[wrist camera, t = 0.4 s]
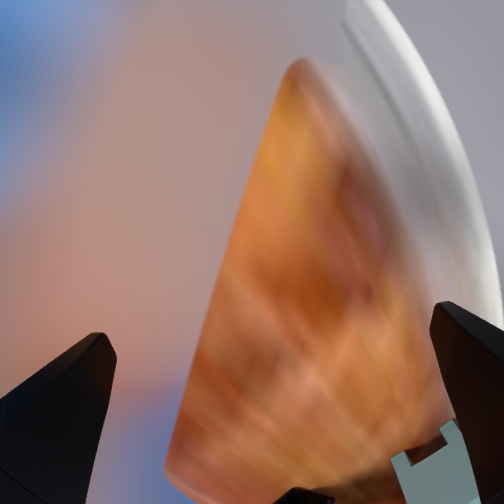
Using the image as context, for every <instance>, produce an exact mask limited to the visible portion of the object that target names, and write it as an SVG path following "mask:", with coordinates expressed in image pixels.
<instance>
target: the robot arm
mask: <svg viewBox="0 0 504 504" xmlns="http://www.w3.org/2000/svg"><path fill="white" fill-rule="evenodd" d="M430 337H431V340H432V343H433V347H434V350H435V354H436V357H437V361H438V364H439V368H440V372H441V375H442V379H443V382H444V385H445V388H446V390H447V393H448V396H449V398H450V401H451V404H452V407H453V409H454V412H455V415H456V418H457V421H458V424H459V427H460V430H461V433H462V436H463V439H464V443H465V446H466V449H467V452H468V456H469V459H470V463H471V466H472V470H473V474H474V477H475V481H476V485H477V489H478V493H479V498H480V502H481V504H504V331H503V330H501V329H499V328H497V327H496V326H494V325H492V324H490V323H489V322H487V321H485V320H483V319H481V318H480V317H478V316H476V315H474V314H473V313H471V312H469V311H467V310H465V309H463V308H462V307H460V306H458V305H456V304H454V303H453V302H451V301H445V302H440V303H437V304H436V305H435V307H434V310H433V315H432V319H431V324H430ZM116 363H117V356H116V353H115V351H114V349H113V347H112V345H111V343H110V341H109V339H108V337H107V335H106V334H105V333H101V332H100V333H98V332H95V333H91V334H89V335H88V336H86V337H85V338H83V339H82V340H81V341H79V342H78V343H76V344H75V345H74V346H72V347H71V348H69V349H68V350H67V351H65V352H64V353H62V354H61V355H60V356H58V357H57V358H55V359H54V360H53V361H51V362H50V363H48V364H47V365H46V366H44V367H43V368H42V369H40V370H39V371H37V372H36V373H35V374H33V375H32V376H31V377H29V378H28V379H26V380H25V381H24V382H22V383H21V384H20V385H18V386H17V387H16V388H14V389H13V390H11V391H10V392H9V393H8V394H6V396H3V397H2V398H1V399H0V504H85V503H86V497H87V492H88V487H89V483H90V478H91V474H92V469H93V464H94V460H95V456H96V452H97V448H98V444H99V440H100V436H101V432H102V428H103V424H104V421H105V417H106V413H107V410H108V405H109V400H110V395H111V389H112V383H113V378H114V373H115V368H116ZM335 502H336V501H335V499H334V498H330V497H326V496H321V495H317V494H313V493H309V492H305V491H301V490H298V489H291V490H289V491H288V492H287V493H286V494H284V495H283V496H282V497H281V498H279V499H278V500H277V501H276V502H274V503H273V504H334V503H335Z"/></svg>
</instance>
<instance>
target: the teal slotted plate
mask: <svg viewBox="0 0 504 504" xmlns="http://www.w3.org/2000/svg"><path fill="white" fill-rule="evenodd" d="M439 429H440V431H441V433H442V435H443V437H444V439H445V440H446V442H447V445H446V446H444V447H443V448H441V449H440V450H438V451H437V452H435V453H434V454H432V455H430V456H429V457H427V458H426V459H424V460H422V461H421V462H419V463H417V464H416V465H414V466H413V465H412V463H411V461H410V459H409V457H408V456H407V454H406V453H405V452H404V451H402V452H400V453H399V454H397V455H395V456H393V457H392V458H391V461H392V464H393V466H394V469H395V472H396V474H397V477H398V480H399V483H400V485H401V488H402V491H403V494H404V496H405V499H406V502H407V504H481V502H480V498H479V493H478V489H477V485H476V481H475V477H474V474H473V470H472V466H471V463H470V459H469V456H468V452H467V449H466V446H465V443H464V439H463V436H462V434H461V432H460V431H459V429H458V428H457V426H456V425H455V423H454V422H453V420H450V421H449V422H447V423H446V424H445V425H443V426H442V427H440V428H439Z"/></svg>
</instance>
